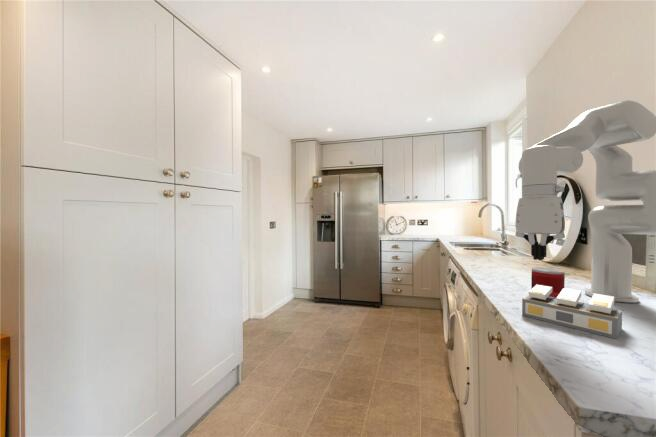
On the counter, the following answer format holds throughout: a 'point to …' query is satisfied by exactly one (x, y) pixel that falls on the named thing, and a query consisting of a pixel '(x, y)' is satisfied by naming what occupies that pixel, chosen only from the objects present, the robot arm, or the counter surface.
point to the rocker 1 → (540, 291)
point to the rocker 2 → (569, 297)
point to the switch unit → (574, 316)
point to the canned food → (548, 279)
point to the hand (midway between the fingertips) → (538, 259)
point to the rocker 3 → (601, 303)
